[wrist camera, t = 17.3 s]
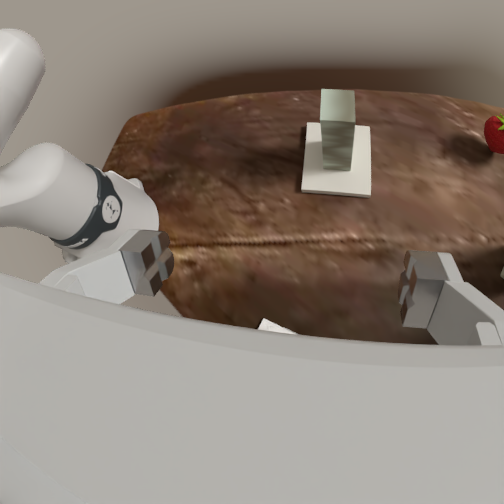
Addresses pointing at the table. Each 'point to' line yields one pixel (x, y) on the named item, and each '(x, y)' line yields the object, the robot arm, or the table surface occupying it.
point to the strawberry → (495, 133)
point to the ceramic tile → (337, 180)
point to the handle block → (337, 128)
